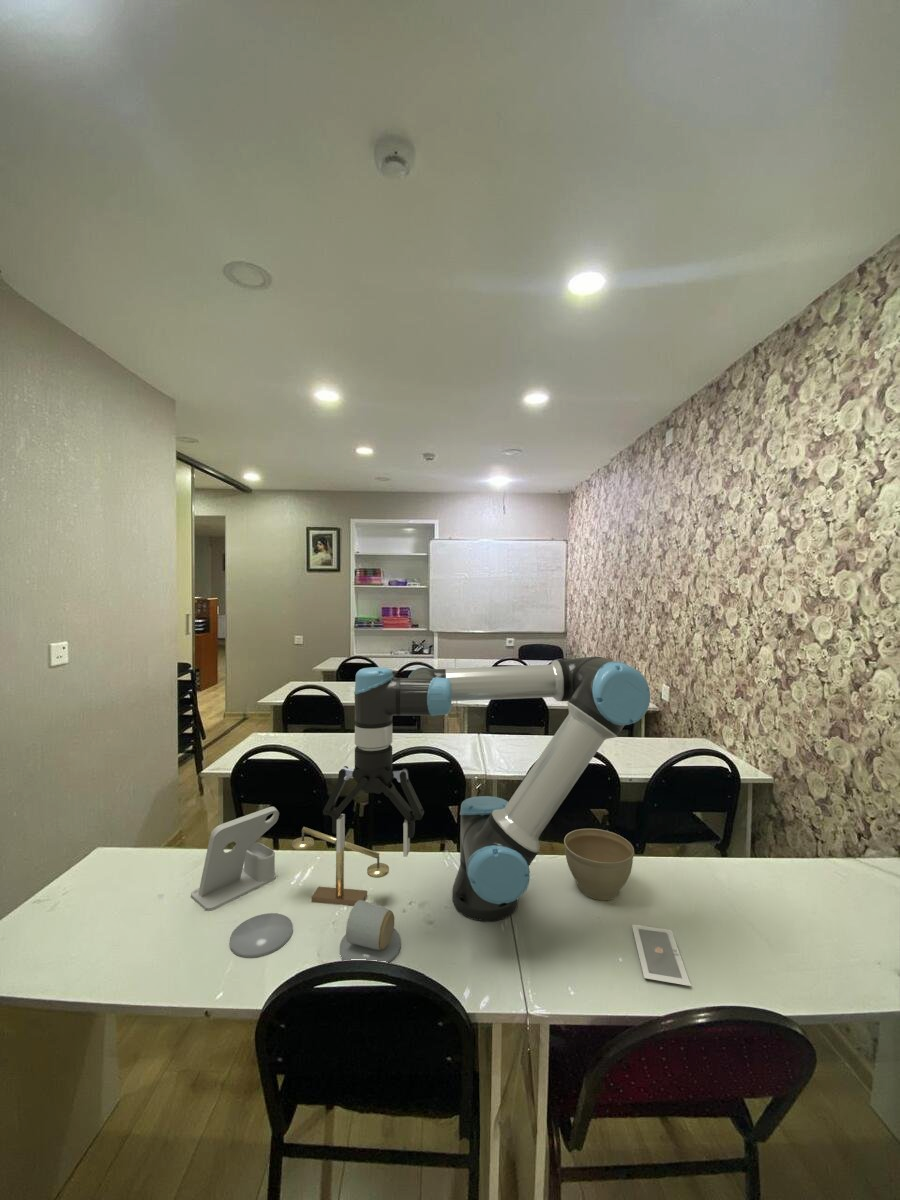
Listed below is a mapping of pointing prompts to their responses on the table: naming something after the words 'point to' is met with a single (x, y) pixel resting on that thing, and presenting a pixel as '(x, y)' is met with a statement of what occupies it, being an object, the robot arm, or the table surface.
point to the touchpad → (659, 955)
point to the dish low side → (371, 950)
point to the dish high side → (261, 935)
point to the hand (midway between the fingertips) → (373, 851)
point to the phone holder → (236, 860)
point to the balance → (340, 870)
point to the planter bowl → (599, 861)
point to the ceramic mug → (370, 925)
